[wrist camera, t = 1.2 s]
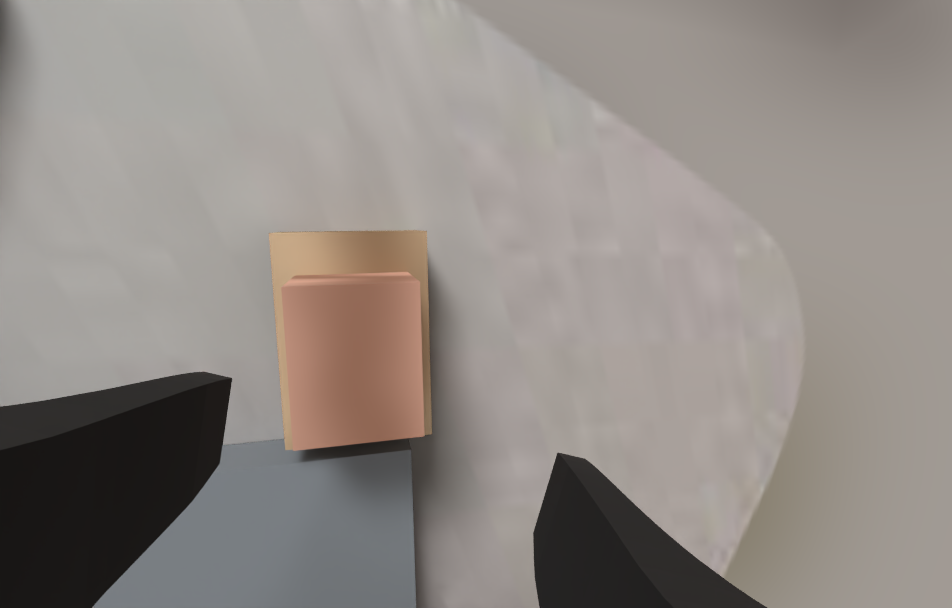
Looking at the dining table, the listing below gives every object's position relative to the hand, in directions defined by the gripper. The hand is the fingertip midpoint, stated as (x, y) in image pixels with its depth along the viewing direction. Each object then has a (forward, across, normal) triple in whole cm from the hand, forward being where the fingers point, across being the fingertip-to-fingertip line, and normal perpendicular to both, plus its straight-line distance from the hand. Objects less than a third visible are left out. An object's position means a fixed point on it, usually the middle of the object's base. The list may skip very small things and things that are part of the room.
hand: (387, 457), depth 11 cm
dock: (+10, +5, +12) cm, 16 cm away
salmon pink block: (+8, +3, 0) cm, 8 cm away
